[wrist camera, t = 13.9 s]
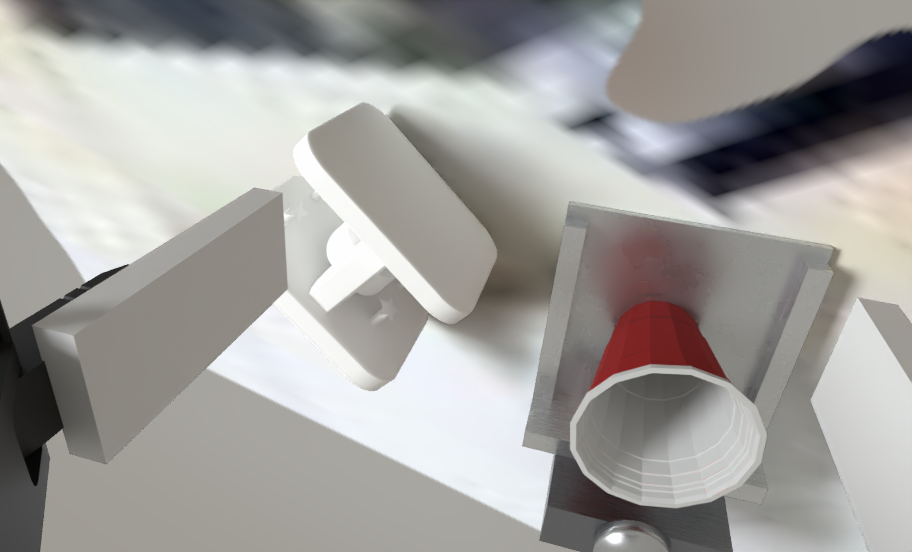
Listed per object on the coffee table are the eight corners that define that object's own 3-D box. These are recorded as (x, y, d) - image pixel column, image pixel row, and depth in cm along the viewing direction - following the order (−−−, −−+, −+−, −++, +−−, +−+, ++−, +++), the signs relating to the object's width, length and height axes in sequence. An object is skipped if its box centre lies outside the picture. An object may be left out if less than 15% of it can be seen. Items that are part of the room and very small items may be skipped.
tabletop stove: (569, 201, 43) (547, 281, 33) (831, 245, 40) (899, 349, 30) (526, 435, 54) (500, 552, 43) (732, 484, 51) (756, 623, 40)
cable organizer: (513, 251, 46) (479, 333, 36) (417, 319, 51) (364, 408, 41) (376, 93, 43) (298, 135, 33) (288, 182, 48) (197, 242, 39)
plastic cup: (671, 418, 49) (681, 544, 38) (555, 345, 48) (533, 452, 38) (773, 324, 43) (816, 442, 33) (643, 241, 43) (644, 333, 32)
